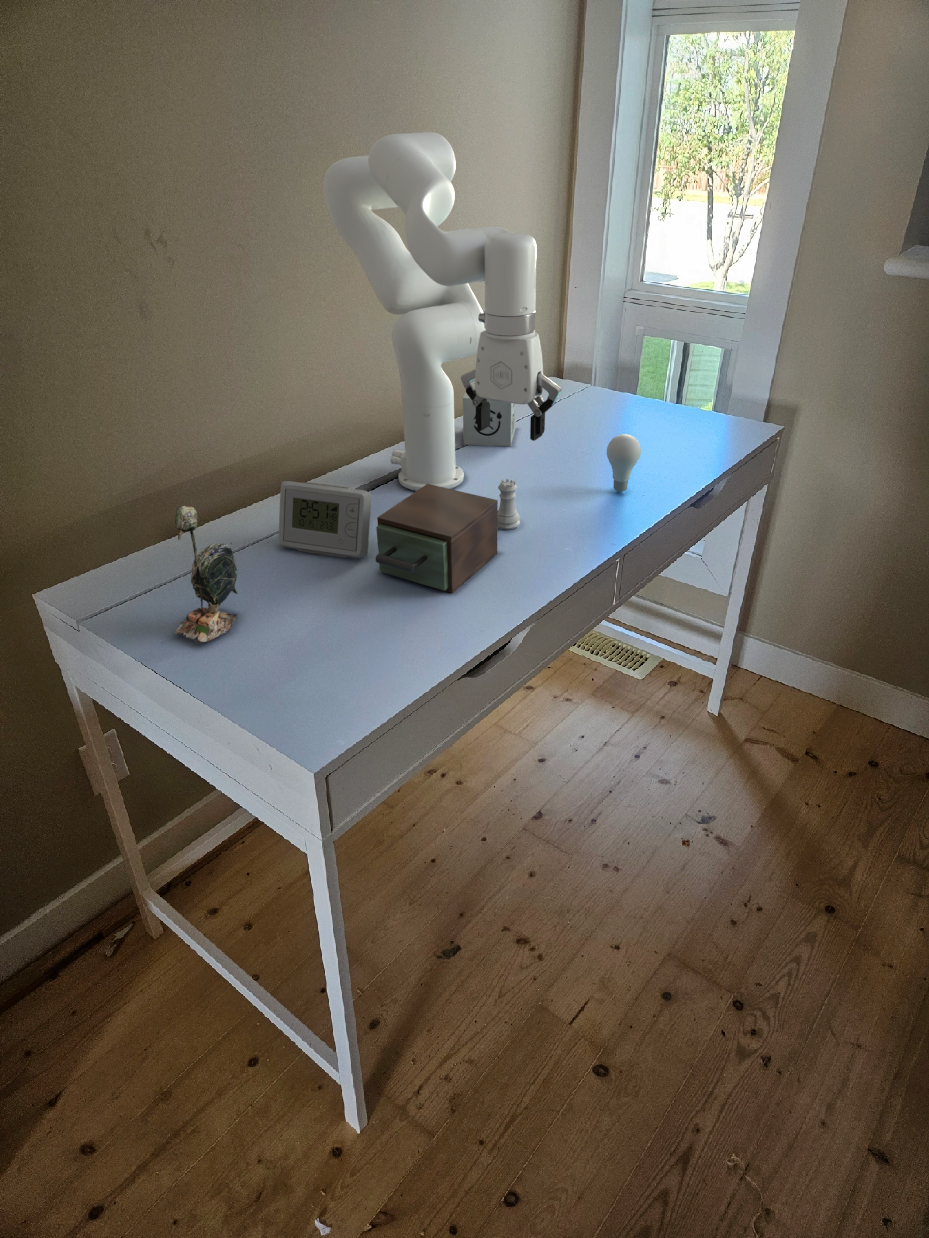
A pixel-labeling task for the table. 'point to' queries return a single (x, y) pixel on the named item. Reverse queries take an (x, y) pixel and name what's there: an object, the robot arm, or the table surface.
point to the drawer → (413, 556)
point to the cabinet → (451, 526)
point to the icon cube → (499, 424)
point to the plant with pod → (207, 583)
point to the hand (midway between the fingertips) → (509, 433)
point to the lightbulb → (623, 459)
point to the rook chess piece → (507, 506)
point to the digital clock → (324, 519)
